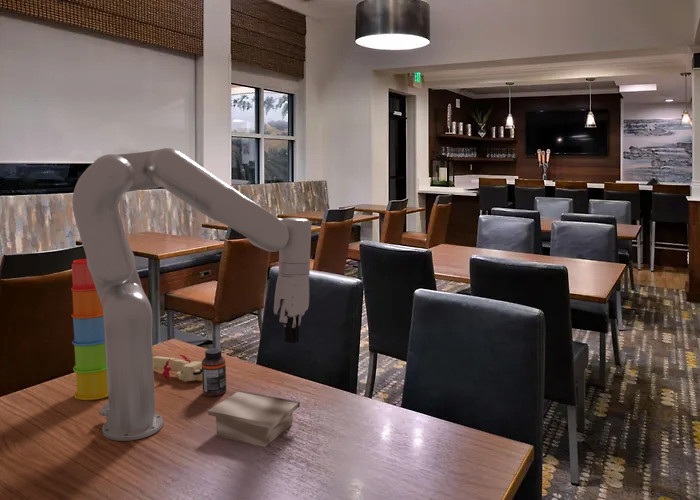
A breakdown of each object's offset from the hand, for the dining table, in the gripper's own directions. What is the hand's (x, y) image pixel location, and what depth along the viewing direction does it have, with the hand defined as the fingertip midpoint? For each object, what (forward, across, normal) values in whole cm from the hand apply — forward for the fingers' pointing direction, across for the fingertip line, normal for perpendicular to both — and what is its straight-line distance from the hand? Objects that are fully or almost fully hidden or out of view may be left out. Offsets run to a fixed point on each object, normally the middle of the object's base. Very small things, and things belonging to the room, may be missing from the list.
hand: (291, 341), depth 139 cm
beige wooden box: (+16, +17, +1) cm, 23 cm away
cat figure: (+17, -2, -39) cm, 42 cm away
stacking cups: (+17, +17, -47) cm, 53 cm away
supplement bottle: (+16, +4, -20) cm, 26 cm away
